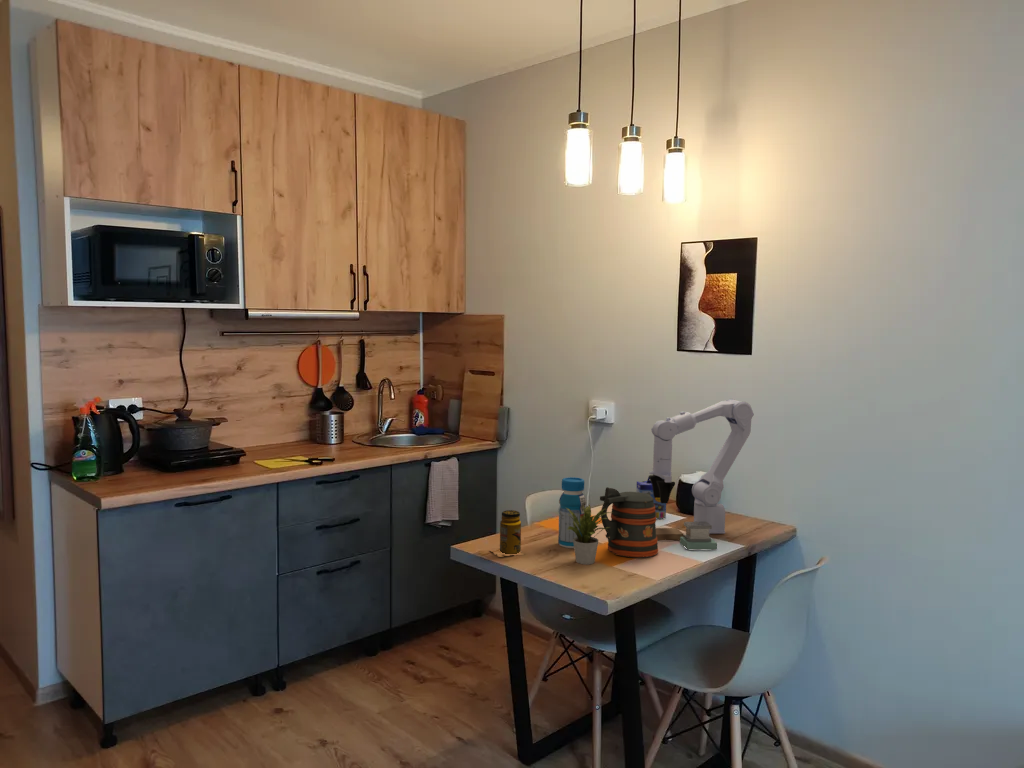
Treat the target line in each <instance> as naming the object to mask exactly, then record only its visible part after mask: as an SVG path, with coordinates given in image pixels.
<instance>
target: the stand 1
mask: <svg viewBox="0 0 1024 768" xmlns="http://www.w3.org/2000/svg"><path fill="white" fill-rule="evenodd" d="M684 535H685V534H684V533H683V532H682V531H681V530H680V529H679V528H678V527H656V536H657V540H674V541H680V537H684Z"/></svg>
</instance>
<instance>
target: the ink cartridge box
mask: <svg viewBox="0 0 1024 768" xmlns="http://www.w3.org/2000/svg"><path fill="white" fill-rule="evenodd" d="M647 477H648V478H647V480H639V481H638V480H637V481H636V488H635V490H636V491H635V492H640V493H648V492H650V495H651V497H653V499H654V500H653V501H654V505H655V512H656V518H665V519H667V503H661V501H660V498H655V497H654V494H653V488H652V484H651V481H650V478H649V476H647Z"/></svg>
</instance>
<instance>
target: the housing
mask: <svg viewBox="0 0 1024 768" xmlns="http://www.w3.org/2000/svg"><path fill="white" fill-rule="evenodd" d="M683 526H684V527H685V534H684V539H685V540H686V541H687V542H711V539H712V538H711V536H710V534H709V529H712V525H710V524H709V523H708V522H694V521H683Z"/></svg>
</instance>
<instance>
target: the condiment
mask: <svg viewBox="0 0 1024 768" xmlns="http://www.w3.org/2000/svg"><path fill="white" fill-rule="evenodd" d="M500 518H501V520H500V525H499V549H500V551H501V552H502V553H505V554H517V553H519V552H520V551H521V550H522V549H521V548H522V546H521V545H522V541H521V540H522V539H521V538H522V537H521V536H522V534H521V533H522V521H521V513H520V512H519V511H518V510H513V509H510V510H509V509H506V510H503V511H502V512H501V517H500Z"/></svg>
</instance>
